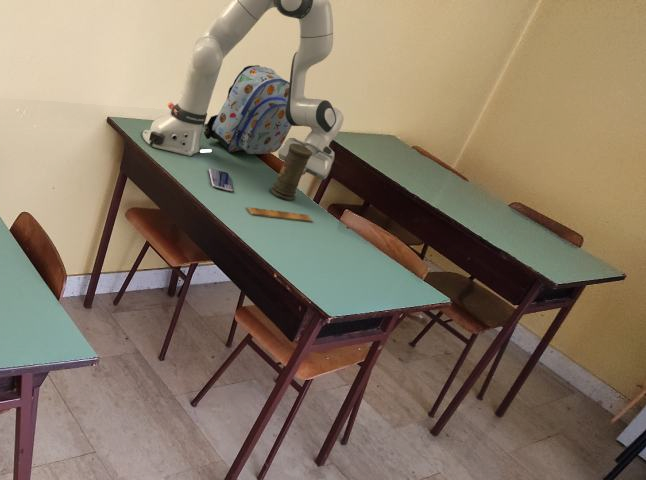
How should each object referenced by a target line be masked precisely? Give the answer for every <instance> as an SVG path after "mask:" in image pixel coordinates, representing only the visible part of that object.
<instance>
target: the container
mask: <svg viewBox="0 0 646 480" xmlns="http://www.w3.org/2000/svg"><path fill="white" fill-rule="evenodd" d="M311 155H312V151H311V150H310V149H308V148H307V147H305V146H302V145H299V144H290V145H289V150H288V154H287V155H286V158H285V161H283V164H282V166H281V168H280V171H279V173H278V175H277V177H276V180H275V182H274V184H273V186H271V189H270V192H271V194H272V195H273V196H275V197H276V198H278V199H281V200H284V201H293V200H294V198H295V196H296V193H297V189H298V187H299V183H300V180H301V178H302V176H303V175H302V174H303V171H304V169H305V166H306V165H307V161H308V160H309V158H310V156H311Z"/></svg>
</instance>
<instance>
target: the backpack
mask: <svg viewBox="0 0 646 480" xmlns="http://www.w3.org/2000/svg"><path fill="white" fill-rule="evenodd" d="M289 84H290V81H288V80H285V79H284V78H283V77H282V76H281V75H279V74H277V73H276V71H275V70H273V69H272V68H270V67H266V66H260V65H259V64H256V65H247V66H245V67H243V69H242V70H241V71H240V72H239V73H238V74H237V76H236V78H235V79H234V81H233V83H232V85H231V86H229V89H228V92H227V97H226V100H225V102H224V104H223V105H222V107H221V109H220V111H219V113H218V114H215V115H211V116H210V118H209V120H208V121H207V123H205V124H204V132H203V134H204V136H205V138H206V139H207V140H210V139H214V140H217V141H218V143H220V144H221V145H222V146H223V147H224V148H225V149H226V150H227V152H228V153H235V152H239V151H245V153H247V154H249V155H263V154H273V153H275V152H278V151H279V150H280V149H281V148H282V146H283V145H284V143H285V140H286V138H287V136H288V134H289V132H290V131H291V129H292V127H293V126H292V125H290V124H289V122H288V121H287V119H286V116H285V109H286V104H287V101H288V94H289Z"/></svg>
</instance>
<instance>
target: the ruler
mask: <svg viewBox="0 0 646 480" xmlns="http://www.w3.org/2000/svg"><path fill="white" fill-rule="evenodd" d="M247 210H248V212H249V213H250V214H251V215H252V216H258V217H267V218H275V219H284V220H291V221H292V220H293V221H300V222H307V223H312V222H313V219H312V218H311V217H310V216H309V214H303V213H295V212H287V211H282V210H281V211H280V210H273V209H264V208H257V207H247Z"/></svg>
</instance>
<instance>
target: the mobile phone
mask: <svg viewBox="0 0 646 480" xmlns="http://www.w3.org/2000/svg"><path fill="white" fill-rule="evenodd" d="M208 172H209V177H210V181H211V185H212V188H214V189H219V190H223V191H227V192H233V191H234V188H233V185H232V181H231V177H230V175H229V173H228V172H226V171H222V170H218V169H215V168H209V169H208Z"/></svg>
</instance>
